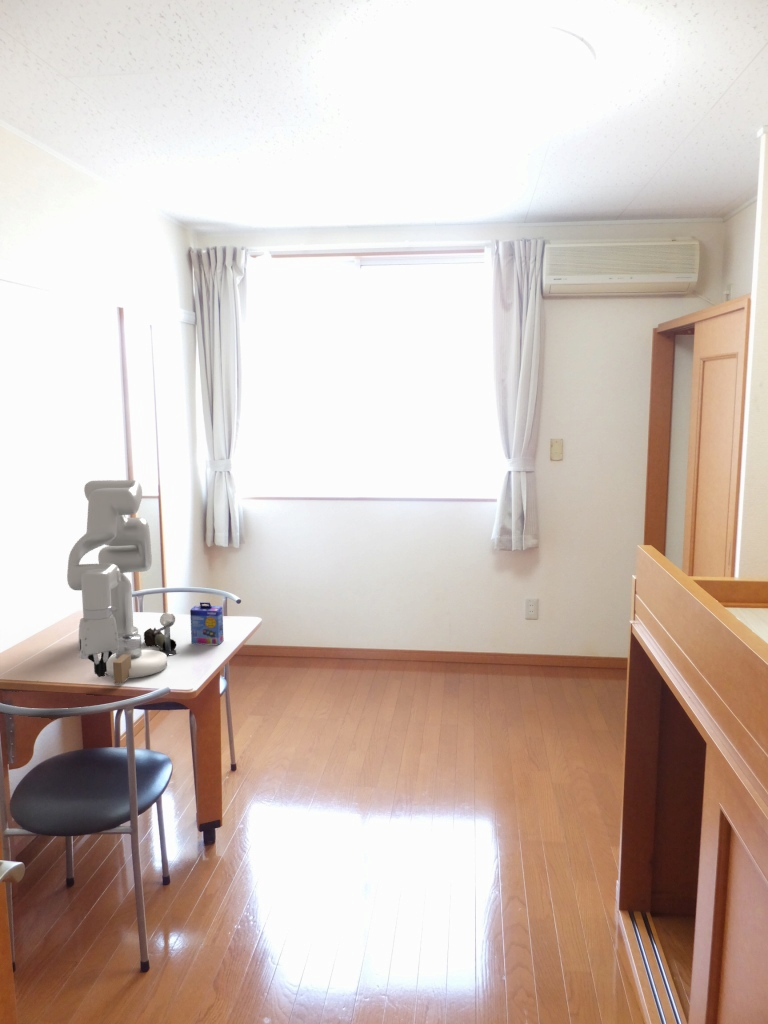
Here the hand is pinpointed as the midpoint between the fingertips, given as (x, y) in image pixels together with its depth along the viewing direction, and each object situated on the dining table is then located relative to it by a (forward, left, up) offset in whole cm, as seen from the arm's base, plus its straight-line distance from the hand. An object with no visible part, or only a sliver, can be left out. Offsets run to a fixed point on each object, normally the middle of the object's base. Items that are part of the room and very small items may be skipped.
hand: (100, 675), depth 211 cm
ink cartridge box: (-20, +41, -4) cm, 46 cm away
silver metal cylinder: (-13, +12, -1) cm, 18 cm away
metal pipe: (-26, +26, -4) cm, 37 cm away
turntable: (-7, +12, -3) cm, 14 cm away
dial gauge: (-16, +25, -4) cm, 30 cm away
